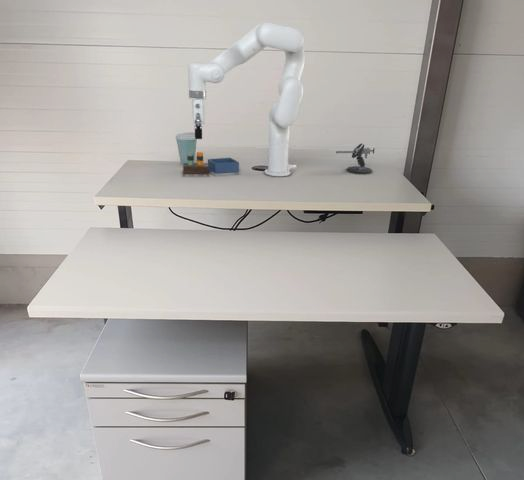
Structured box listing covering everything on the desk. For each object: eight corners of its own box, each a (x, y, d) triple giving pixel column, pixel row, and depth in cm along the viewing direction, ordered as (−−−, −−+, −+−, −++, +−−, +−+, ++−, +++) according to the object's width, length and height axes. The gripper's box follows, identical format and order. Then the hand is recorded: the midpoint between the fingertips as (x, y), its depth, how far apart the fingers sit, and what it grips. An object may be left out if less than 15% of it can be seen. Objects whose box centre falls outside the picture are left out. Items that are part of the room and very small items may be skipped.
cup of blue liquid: (181, 168, 247) (179, 135, 239) (173, 163, 255) (171, 132, 247) (201, 166, 251) (200, 134, 243) (193, 162, 259) (191, 130, 251)
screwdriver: (197, 171, 238) (196, 151, 233) (203, 171, 238) (202, 151, 233) (197, 173, 235) (196, 153, 230) (203, 173, 236) (202, 153, 231)
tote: (230, 169, 248) (230, 157, 246) (238, 174, 241) (238, 162, 238) (207, 170, 244) (207, 159, 241) (215, 175, 236) (215, 163, 233)
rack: (183, 172, 239) (183, 162, 237) (207, 172, 241) (207, 163, 238) (183, 176, 233) (183, 166, 231) (208, 176, 235) (207, 166, 232)
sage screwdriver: (188, 171, 237) (187, 151, 232) (194, 171, 238) (193, 151, 233) (187, 173, 235) (187, 153, 230) (194, 173, 235) (193, 153, 230)
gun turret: (330, 168, 257) (333, 141, 250) (367, 167, 261) (370, 141, 254) (339, 174, 247) (342, 146, 240) (376, 173, 251) (381, 146, 244)
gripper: (206, 97, 212) (207, 140, 221) (205, 93, 226) (206, 133, 236) (188, 97, 211) (190, 140, 220) (189, 92, 226) (190, 133, 235)
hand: (198, 136), depth 228 cm, fingers open, 9 cm apart
